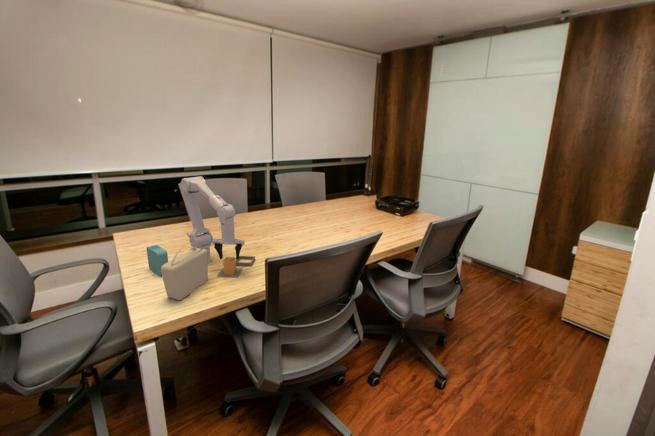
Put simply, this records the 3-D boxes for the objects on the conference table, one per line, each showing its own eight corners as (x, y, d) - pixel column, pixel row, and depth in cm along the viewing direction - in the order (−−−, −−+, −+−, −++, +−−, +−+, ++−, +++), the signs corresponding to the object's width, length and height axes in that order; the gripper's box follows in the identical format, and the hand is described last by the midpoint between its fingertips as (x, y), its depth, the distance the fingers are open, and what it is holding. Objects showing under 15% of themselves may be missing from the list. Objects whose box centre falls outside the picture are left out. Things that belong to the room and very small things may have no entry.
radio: (196, 277, 151) (191, 226, 144) (211, 280, 149) (207, 228, 142) (160, 300, 131) (152, 242, 124) (177, 304, 128) (170, 245, 121)
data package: (170, 274, 153) (167, 250, 150) (160, 277, 150) (157, 253, 146) (158, 266, 160) (155, 243, 157) (149, 269, 157) (145, 246, 153)
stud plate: (216, 278, 150) (215, 269, 149) (223, 269, 160) (222, 261, 158) (237, 279, 150) (237, 270, 149) (243, 269, 160) (243, 261, 158)
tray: (234, 267, 162) (233, 262, 161) (238, 260, 171) (238, 255, 170) (251, 267, 162) (251, 263, 162) (255, 260, 171) (255, 256, 170)
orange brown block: (224, 274, 152) (223, 260, 150) (226, 270, 157) (226, 257, 155) (233, 274, 152) (232, 261, 151) (236, 270, 157) (235, 257, 155)
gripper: (209, 233, 145) (211, 261, 149) (241, 234, 145) (242, 262, 149) (214, 228, 152) (216, 255, 155) (245, 229, 152) (246, 256, 155)
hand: (229, 258), depth 153 cm, fingers open, 7 cm apart
